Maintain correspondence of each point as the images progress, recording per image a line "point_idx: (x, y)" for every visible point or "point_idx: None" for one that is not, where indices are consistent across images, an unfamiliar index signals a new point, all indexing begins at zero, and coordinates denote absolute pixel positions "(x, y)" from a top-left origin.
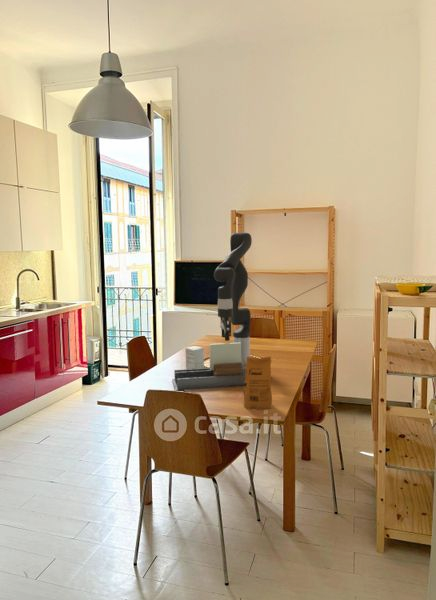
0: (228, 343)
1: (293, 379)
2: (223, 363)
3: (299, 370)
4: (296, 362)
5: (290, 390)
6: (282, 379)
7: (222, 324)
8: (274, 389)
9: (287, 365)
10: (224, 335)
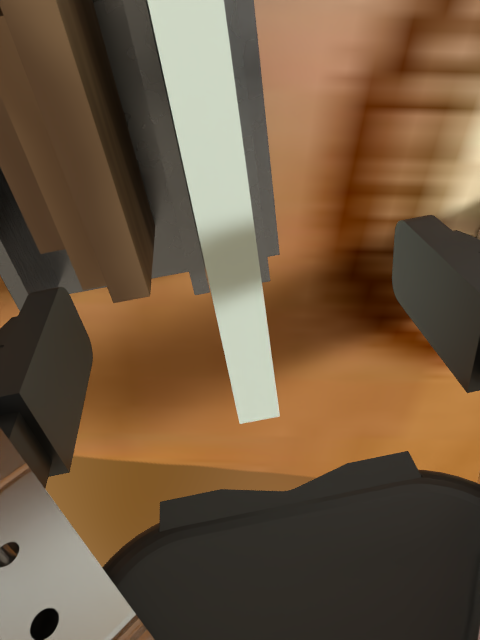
0: (228, 285)
1: (214, 452)
2: (85, 123)
3: None
4: (471, 466)
5: None
6: (215, 417)
7: (135, 634)
8: None
9: (439, 438)
10: (410, 281)
